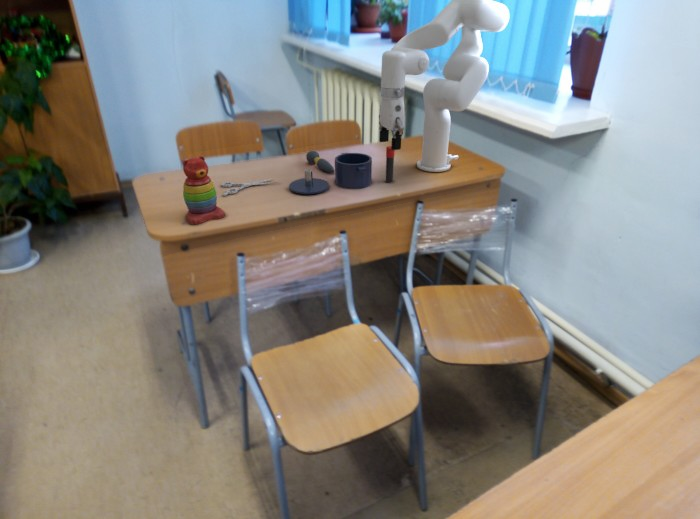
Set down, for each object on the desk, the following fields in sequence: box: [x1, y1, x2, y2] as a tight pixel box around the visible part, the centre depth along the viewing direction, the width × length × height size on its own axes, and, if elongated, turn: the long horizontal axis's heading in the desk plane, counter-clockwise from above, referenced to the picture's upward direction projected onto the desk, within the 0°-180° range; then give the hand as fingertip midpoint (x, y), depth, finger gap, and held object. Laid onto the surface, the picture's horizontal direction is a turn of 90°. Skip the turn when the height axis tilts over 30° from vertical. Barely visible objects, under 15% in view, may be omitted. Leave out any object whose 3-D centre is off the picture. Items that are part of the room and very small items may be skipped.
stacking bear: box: [182, 155, 226, 225], centre depth 140 cm, size 11×10×18 cm
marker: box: [385, 145, 396, 184], centre depth 165 cm, size 3×3×12 cm
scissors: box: [221, 178, 277, 197], centre depth 165 cm, size 11×1×20 cm
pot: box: [334, 152, 373, 190], centre depth 166 cm, size 13×18×8 cm
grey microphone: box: [305, 150, 335, 174], centre depth 180 cm, size 20×5×5 cm, turn 38°
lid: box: [288, 169, 330, 195], centre depth 162 cm, size 14×14×6 cm
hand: (389, 145), depth 162 cm, fingers open, 9 cm apart
